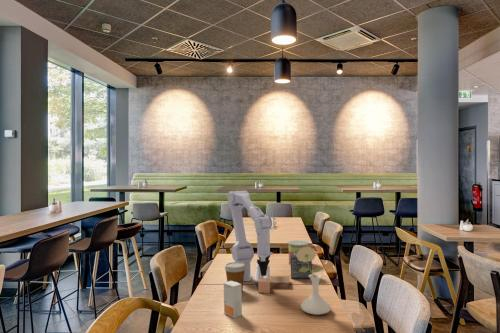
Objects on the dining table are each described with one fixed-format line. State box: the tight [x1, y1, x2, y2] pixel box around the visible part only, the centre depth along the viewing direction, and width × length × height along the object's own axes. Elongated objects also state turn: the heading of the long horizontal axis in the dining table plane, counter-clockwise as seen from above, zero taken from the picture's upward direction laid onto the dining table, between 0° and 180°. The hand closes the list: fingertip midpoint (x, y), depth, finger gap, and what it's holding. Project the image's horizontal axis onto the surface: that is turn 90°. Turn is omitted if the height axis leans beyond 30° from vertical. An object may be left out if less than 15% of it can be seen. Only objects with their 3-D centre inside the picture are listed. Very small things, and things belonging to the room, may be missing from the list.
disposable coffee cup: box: [224, 261, 246, 291], centre depth 163 cm, size 10×10×12 cm
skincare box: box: [223, 281, 243, 319], centre depth 138 cm, size 6×4×12 cm
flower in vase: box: [296, 246, 332, 316], centre depth 139 cm, size 13×11×25 cm
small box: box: [290, 255, 313, 280], centre depth 181 cm, size 11×6×10 cm, turn 84°
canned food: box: [288, 240, 309, 266], centre depth 205 cm, size 11×11×12 cm
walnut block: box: [269, 275, 291, 289], centre depth 170 cm, size 9×9×3 cm
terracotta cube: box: [257, 277, 271, 294], centre depth 163 cm, size 5×5×5 cm
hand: (264, 273), depth 163 cm, fingers open, 7 cm apart
